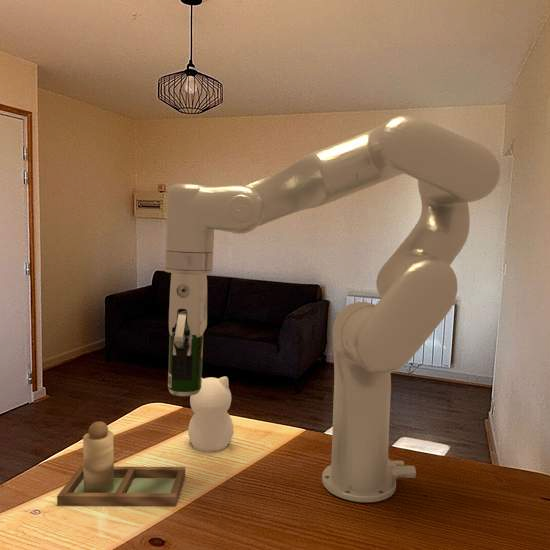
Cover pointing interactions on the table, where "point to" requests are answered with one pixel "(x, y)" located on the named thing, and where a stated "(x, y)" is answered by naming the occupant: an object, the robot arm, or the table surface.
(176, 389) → the guarana soda can
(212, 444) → the cat figurine
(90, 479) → the pepper mill
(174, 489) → the caddy
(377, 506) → the table surface
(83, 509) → the table surface
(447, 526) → the table surface
